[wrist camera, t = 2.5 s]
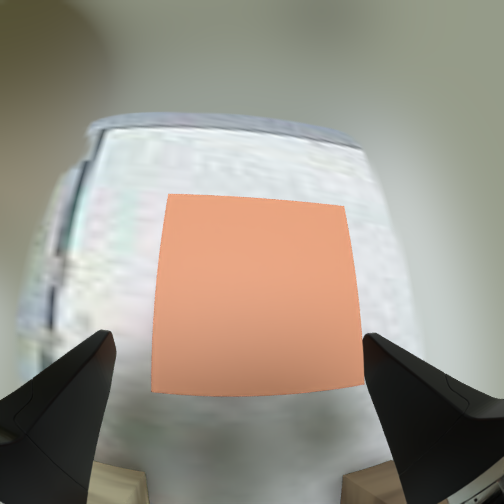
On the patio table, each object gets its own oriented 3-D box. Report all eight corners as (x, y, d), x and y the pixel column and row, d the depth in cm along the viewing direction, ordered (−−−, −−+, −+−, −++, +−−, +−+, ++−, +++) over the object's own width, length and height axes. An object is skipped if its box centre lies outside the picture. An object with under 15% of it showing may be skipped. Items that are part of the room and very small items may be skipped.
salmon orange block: (262, 372, 16) (364, 384, 5) (193, 371, 16) (151, 392, 4) (261, 306, 18) (344, 206, 7) (195, 304, 18) (168, 194, 6)
